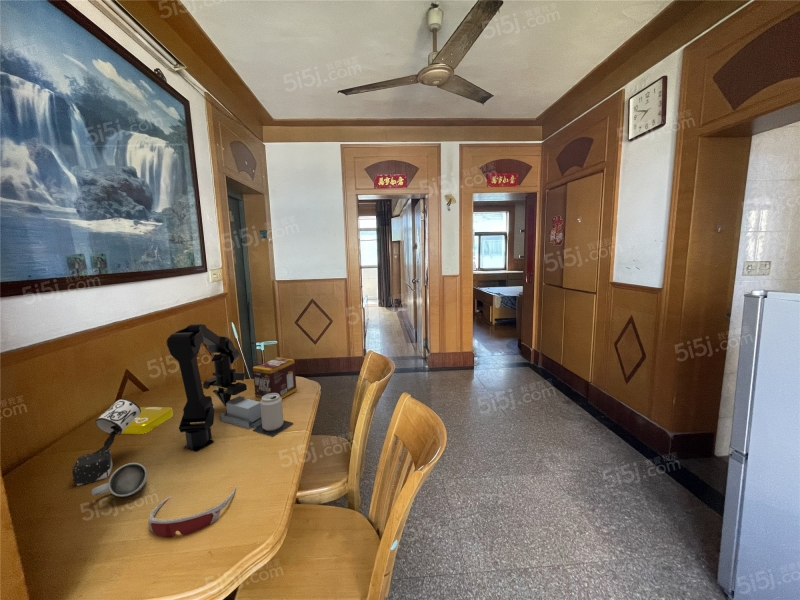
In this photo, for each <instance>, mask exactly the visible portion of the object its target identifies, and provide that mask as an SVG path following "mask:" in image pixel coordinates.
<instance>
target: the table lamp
mask: <svg viewBox="0 0 800 600" xmlns="http://www.w3.org/2000/svg"><path fill="white" fill-rule="evenodd" d="M140 407H141V406H139V405H138V404H137V403H135V402H134V401H133V400H130V399H126V398H118V400H116V401H115V402H114V403H113V404H112V405H111V406H110V407H108V409H107V410H105V411H104V413H102V414H101V415H100V416H98V418H97V419H96V420H95V425H96V426H97V428H98V429H99V430H101V431H102V432H104V433H107V434H109V436H108V437H107V438H106V440H104V443H103V446H102V447H101V448H100V449H98V450H96V451H94V452H93V453H87V454H84V455H81V456H80V457H78V458H77V461H76V462H75V464H74V465H73V466H72V471H71V474H72V478H73V479H72V480H73V483H74V484H76V486H77V487H78V486H82V485H88V484H90V483H95V482H96V481H99V480H100V481H101V480H103V479H107V478H109V477H110V474H111V471H112V469H113V465H114V463H113V457H112V452H111V448H110V447H111V446H112V445H113V443H114V441H115V439H116V438H115V437H116V436H119V435H122V434H121V433H122V432H123V431H124V430H125V429H126V428H127V426H128V425H129V424H130V423H131V422H132V421H133V420H134V419H135V418H136V417H137V416H138V415H139V414H140V413H141V409H140Z"/></svg>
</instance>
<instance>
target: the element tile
mask: <svg viewBox="0 0 800 600" xmlns="http://www.w3.org/2000/svg"><path fill="white" fill-rule="evenodd" d="M139 407H140V409H141V413H140V414H139V415H138V416H137V417H136V418H135V419H134V420H133V421H132V422H131V423H130V424H129V425H128V426H127V428H126V429H125V430H124V431H123V432H122V433H121V434H120V435H145V434H147V432H148V433H150V432H151V431H153V430H154V429H153V428H155V427H156V428H158V426H160V425H161V424H162V423H164V422H166V421H168V420H169V419H171V418H172V417H173V416H174V413H173V412H174V411H173V408H172V407H170V406H169V407H168V406H164V407H163V406H139ZM156 428H155V429H156ZM152 429H153V430H152ZM150 430H151V431H150ZM149 431H150V432H149ZM144 433H145V434H144Z"/></svg>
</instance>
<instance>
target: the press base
mask: <svg viewBox="0 0 800 600" xmlns="http://www.w3.org/2000/svg"><path fill="white" fill-rule="evenodd" d="M219 418H220V421H221V422H223V423H225V424H226V423H227V424H230V425H233V426H237V427H240V428H244V429H246V430H251V429H252V432H254V433H257V434H262V435H265V436H268V437H271V438H274V437H275V436H277V435H279V434H280V433H282V432H284V431H285V430H286V429H289V427H292V426H293V425H294V423H293V422H291V421H288V420H284V419H283V421H284V423H283V425H282V426H281V427H280V428H278V429H276V430H273V431H267V430H265V429H263V428H262V419H261V418H259V419H257V420H255V421H254V422H252V421H249V420H246V419H242V418H239V417H235V416H231V415H228V414H227V410H226V411H224V412H222V413H220V414H219Z"/></svg>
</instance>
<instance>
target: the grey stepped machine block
mask: <svg viewBox="0 0 800 600" xmlns="http://www.w3.org/2000/svg"><path fill="white" fill-rule="evenodd" d="M226 406H227V407H226ZM226 406H225V407H226V411H227V414H228V415H231V416H235V417H239V418H242V419H246V420H249V421H252V422H254V421H255V420H257V419H259V418H261V408H260V401H257V400H253V399H249V398H245V397H244V396H242V395H238V396H236V397H234V398H230V400H229V401H228V403H226Z"/></svg>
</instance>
